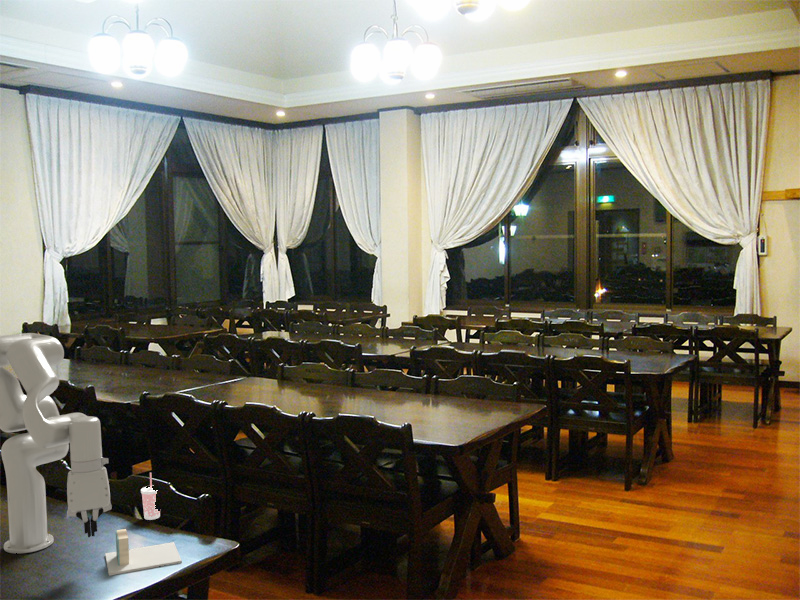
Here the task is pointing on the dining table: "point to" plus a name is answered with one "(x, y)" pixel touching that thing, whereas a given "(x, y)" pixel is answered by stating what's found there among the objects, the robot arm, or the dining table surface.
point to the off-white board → (144, 558)
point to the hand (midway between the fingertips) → (91, 535)
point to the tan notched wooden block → (122, 547)
